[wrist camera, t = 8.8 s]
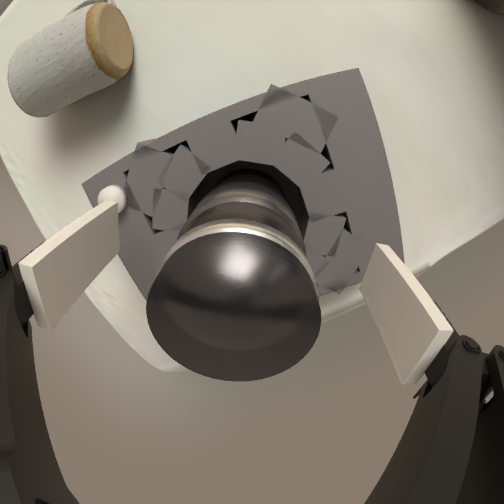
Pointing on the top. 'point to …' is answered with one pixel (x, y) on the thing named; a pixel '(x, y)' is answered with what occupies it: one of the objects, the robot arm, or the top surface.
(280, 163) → the box with round hole
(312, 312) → the lens
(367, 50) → the top surface
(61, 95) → the ceramic mug
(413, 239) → the top surface
